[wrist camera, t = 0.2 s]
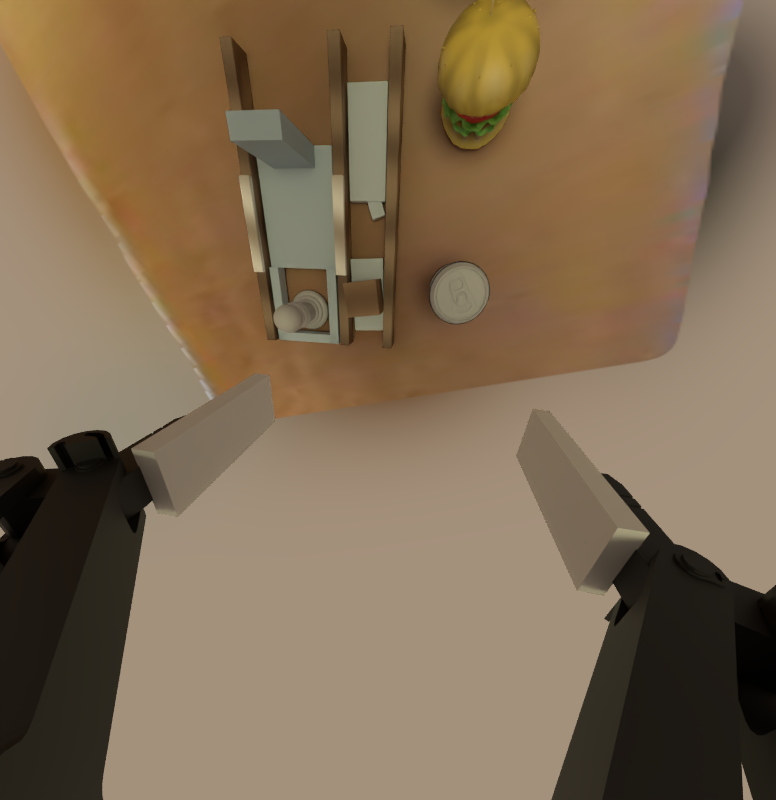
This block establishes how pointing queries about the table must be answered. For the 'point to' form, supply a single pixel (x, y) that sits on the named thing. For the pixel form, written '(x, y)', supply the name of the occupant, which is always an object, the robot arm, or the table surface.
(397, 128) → the lane rails
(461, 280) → the beverage can
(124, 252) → the table surface
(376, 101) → the broken strip
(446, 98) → the hamburger
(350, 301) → the walnut cube
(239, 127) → the pale grey slab
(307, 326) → the chess piece
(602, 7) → the table surface
